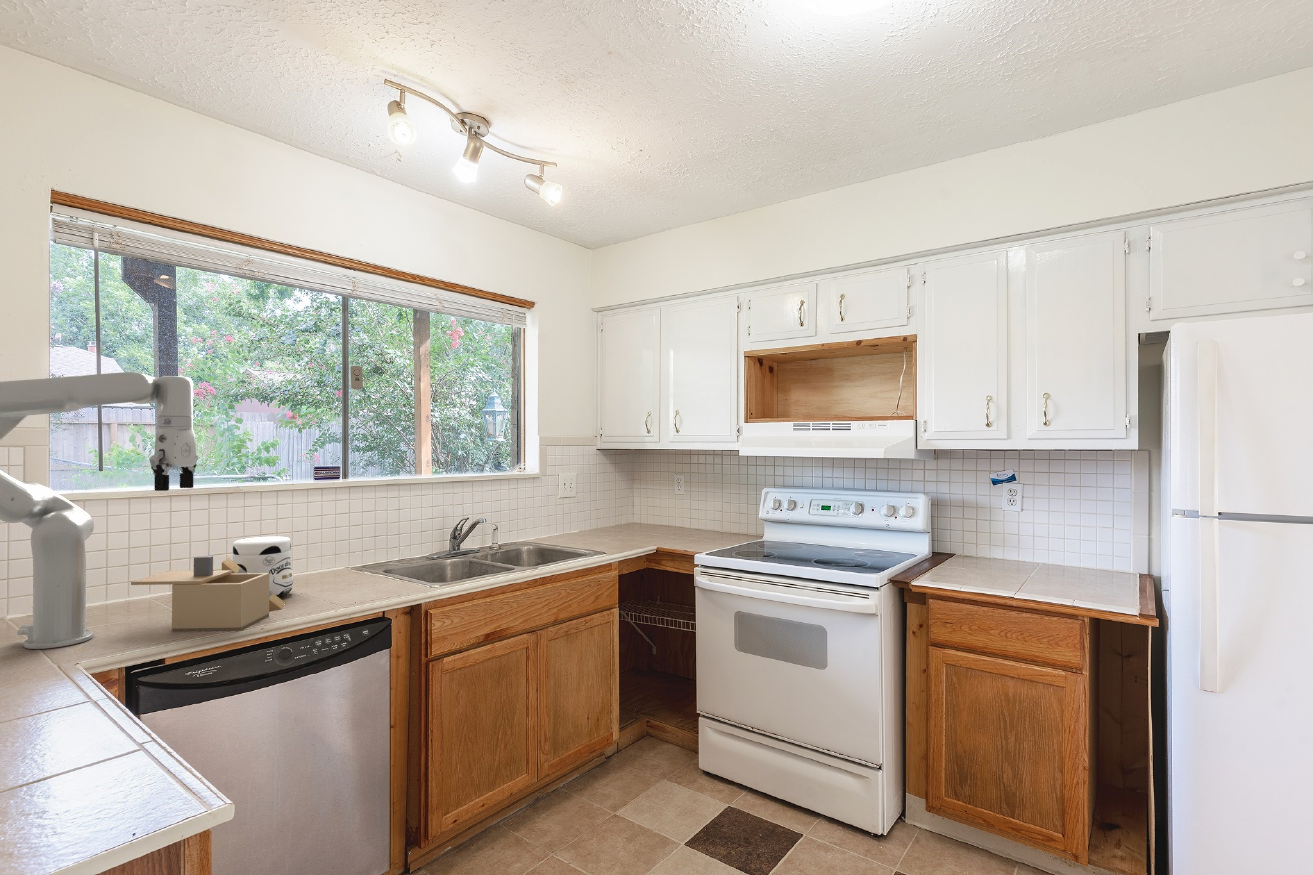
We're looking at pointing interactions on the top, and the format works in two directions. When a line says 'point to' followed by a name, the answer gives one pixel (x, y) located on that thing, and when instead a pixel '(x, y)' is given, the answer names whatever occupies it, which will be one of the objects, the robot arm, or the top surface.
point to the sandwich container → (228, 564)
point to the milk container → (267, 560)
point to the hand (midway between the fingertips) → (174, 489)
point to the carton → (221, 603)
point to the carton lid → (186, 574)
